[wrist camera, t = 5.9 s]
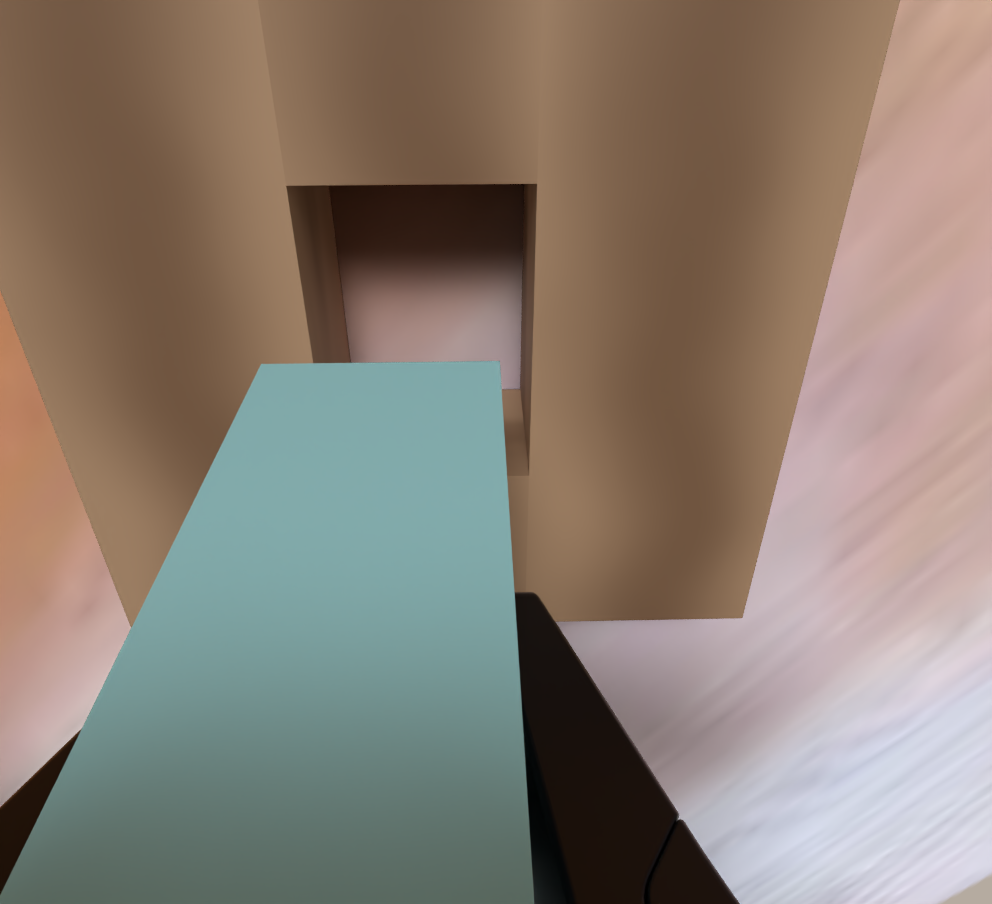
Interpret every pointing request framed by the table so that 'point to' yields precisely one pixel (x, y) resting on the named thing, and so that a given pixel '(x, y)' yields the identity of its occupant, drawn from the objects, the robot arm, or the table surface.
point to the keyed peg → (315, 668)
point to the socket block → (426, 161)
